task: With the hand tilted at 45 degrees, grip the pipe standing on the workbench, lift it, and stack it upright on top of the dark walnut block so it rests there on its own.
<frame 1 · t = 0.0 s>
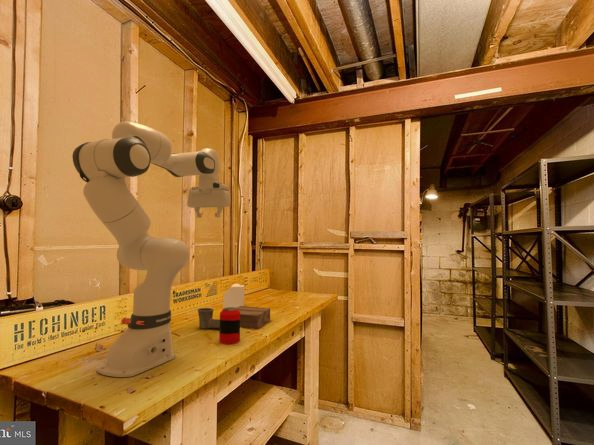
hand: (208, 217, 128), 48 cm above the table, tool pointing down, fingers open, 8 cm apart
corner bracket: (234, 306, 165), on the table
soda can: (229, 341, 110), on the table
walnut block: (248, 323, 133), on the table
pipe: (210, 328, 125), on the table
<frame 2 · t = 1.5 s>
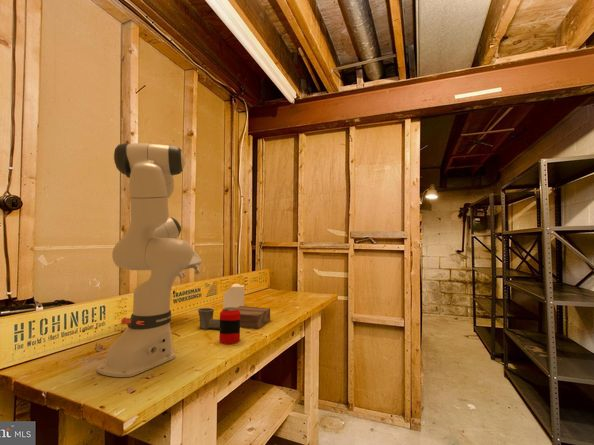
hand: (190, 275, 131), 22 cm above the table, tool tilted 45°, fingers open, 8 cm apart
nothing on the table moved.
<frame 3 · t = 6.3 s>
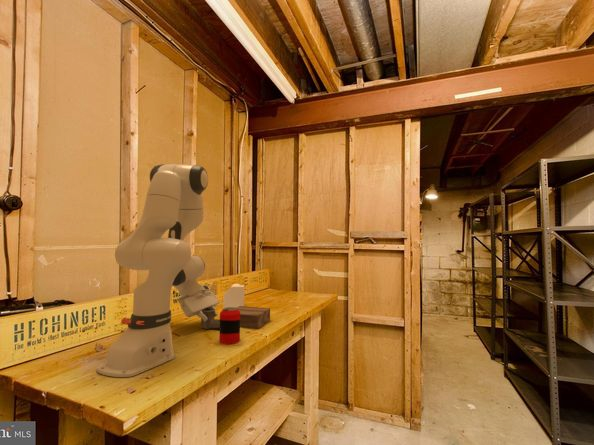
hand: (211, 318, 125), 4 cm above the table, tool tilted 45°, fingers open, 5 cm apart
pipe: (212, 328, 125), on the table, touching gripper
everything else where it was.
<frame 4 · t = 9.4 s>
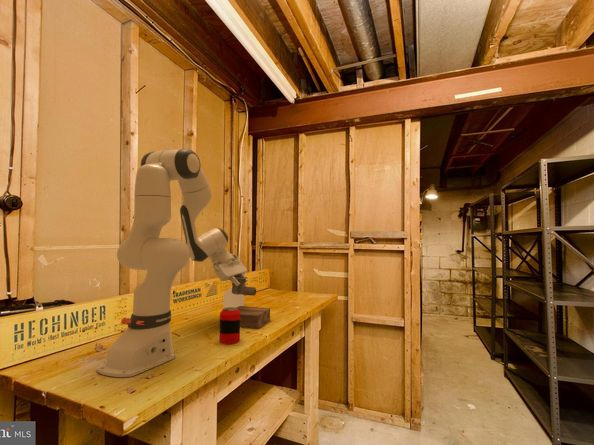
hand: (242, 283, 133), 18 cm above the table, tool tilted 45°, fingers closed on pipe, 5 cm apart
pipe: (242, 295, 133), point 13 cm above the table, touching gripper
everything else where it was.
when the fingers open (12 cm above the table, at t = 11.6 s): pipe drops 1 cm, resting on walnut block.
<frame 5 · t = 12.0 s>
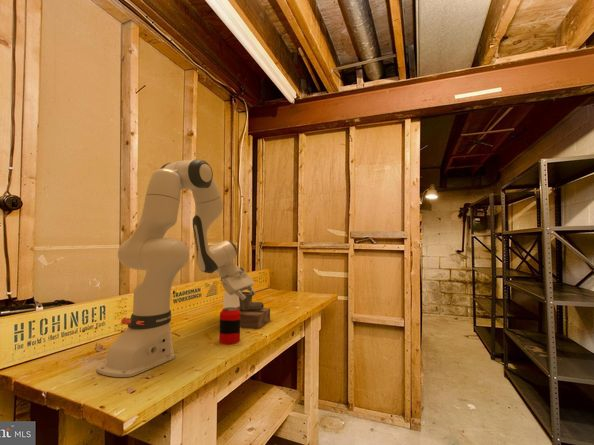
hand: (249, 296, 134), 12 cm above the table, tool tilted 45°, fingers open, 8 cm apart
walnut block: (248, 324, 133), on the table, touching pipe
pipe: (249, 311, 134), point 5 cm above the table, touching walnut block
everything else where it was.
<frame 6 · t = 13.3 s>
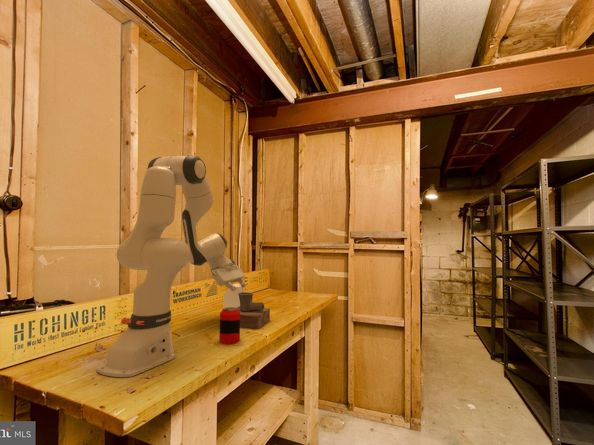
hand: (239, 288, 135), 15 cm above the table, tool tilted 45°, fingers open, 8 cm apart
nothing on the table moved.
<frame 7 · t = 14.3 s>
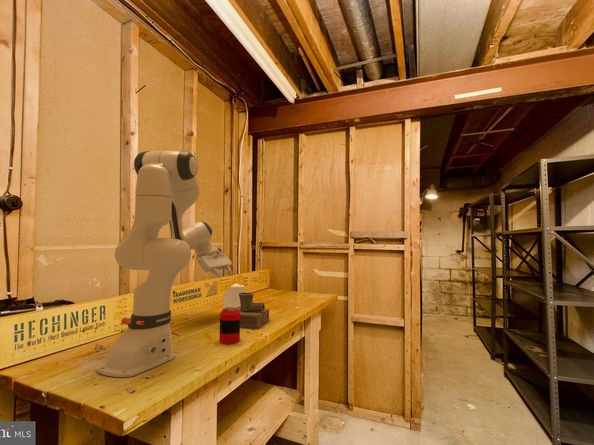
hand: (225, 275, 138), 21 cm above the table, tool tilted 45°, fingers open, 8 cm apart
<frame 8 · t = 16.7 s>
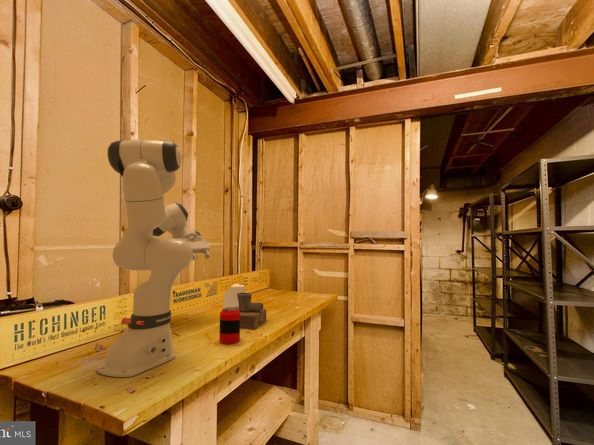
hand: (202, 258, 133), 29 cm above the table, tool tilted 45°, fingers open, 8 cm apart
walnut block: (244, 324, 133), on the table, touching pipe
at the end: pipe inside the target area on the walnut block (2.3 cm from its centre), point 5.8 cm above the walnut block's base; pipe tilted 1°; the gripper is holding nothing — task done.
